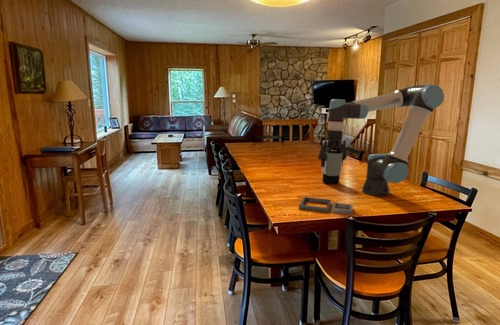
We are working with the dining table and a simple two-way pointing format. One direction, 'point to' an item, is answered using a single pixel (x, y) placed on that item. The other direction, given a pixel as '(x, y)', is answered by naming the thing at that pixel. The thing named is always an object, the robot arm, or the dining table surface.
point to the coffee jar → (331, 179)
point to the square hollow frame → (314, 208)
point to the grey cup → (333, 163)
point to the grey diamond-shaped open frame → (342, 211)
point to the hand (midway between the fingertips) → (331, 172)
